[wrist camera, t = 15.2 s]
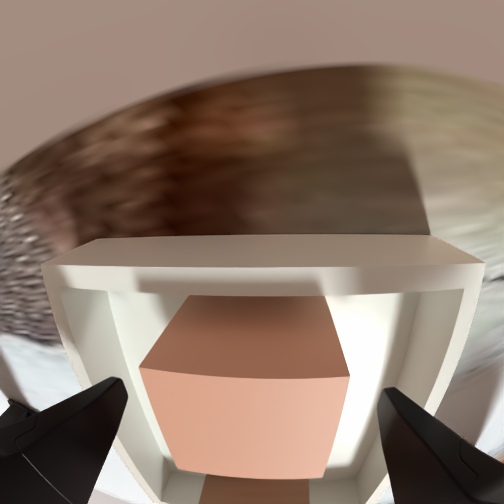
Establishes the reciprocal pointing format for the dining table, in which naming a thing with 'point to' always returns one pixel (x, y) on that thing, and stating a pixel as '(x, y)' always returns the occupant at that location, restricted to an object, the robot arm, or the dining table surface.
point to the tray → (271, 284)
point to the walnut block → (253, 491)
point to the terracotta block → (249, 385)
